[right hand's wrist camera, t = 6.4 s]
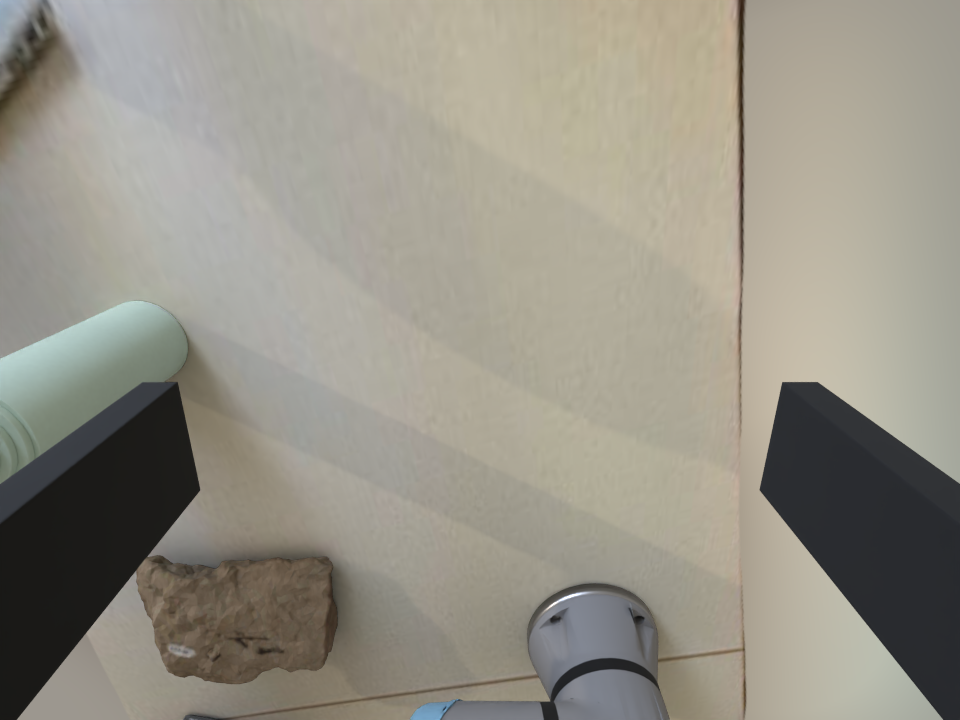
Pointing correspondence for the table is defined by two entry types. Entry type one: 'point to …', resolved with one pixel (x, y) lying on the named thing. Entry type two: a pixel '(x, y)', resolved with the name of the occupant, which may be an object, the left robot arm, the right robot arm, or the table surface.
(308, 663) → the stone
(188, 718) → the graphics card box
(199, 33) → the table surface
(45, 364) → the bottle
